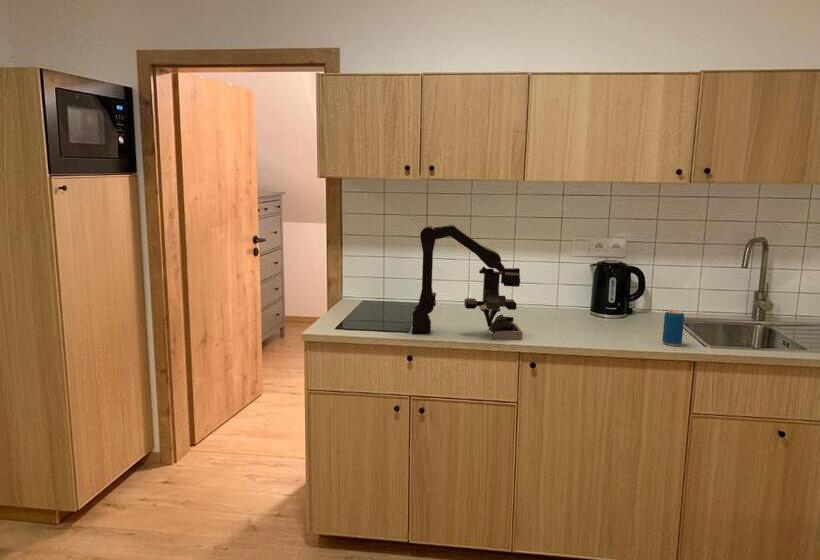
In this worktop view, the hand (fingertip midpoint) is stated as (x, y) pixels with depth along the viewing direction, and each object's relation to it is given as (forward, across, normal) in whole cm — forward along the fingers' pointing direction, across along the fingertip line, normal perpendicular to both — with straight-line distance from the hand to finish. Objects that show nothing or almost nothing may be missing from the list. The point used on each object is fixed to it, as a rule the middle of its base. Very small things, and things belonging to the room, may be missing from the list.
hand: (488, 326), depth 238 cm
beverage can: (+2, +65, -11) cm, 66 cm away
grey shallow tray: (+3, +6, 0) cm, 6 cm away
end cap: (+3, +5, -1) cm, 6 cm away
